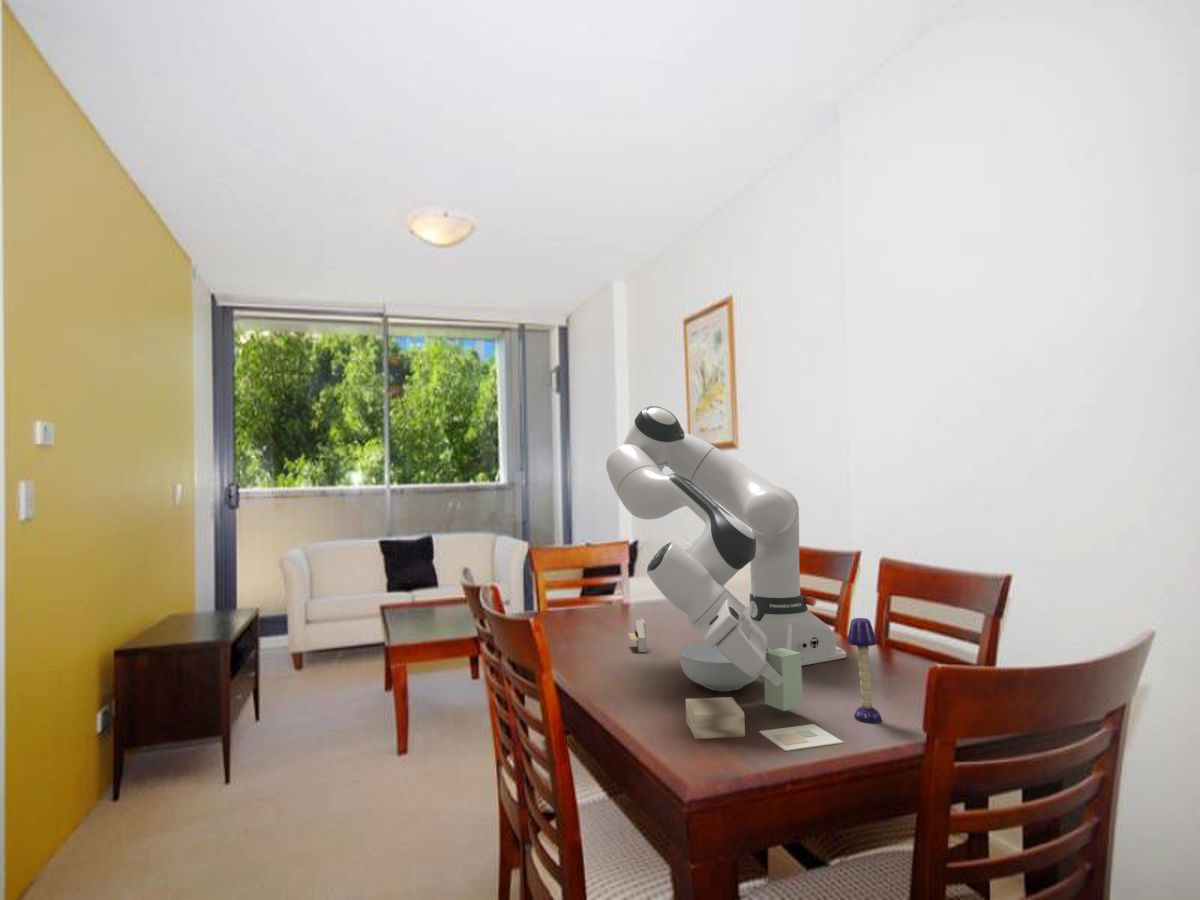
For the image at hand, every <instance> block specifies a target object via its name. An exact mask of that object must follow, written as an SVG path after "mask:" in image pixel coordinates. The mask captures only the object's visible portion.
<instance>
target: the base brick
mask: <svg viewBox="0 0 1200 900" xmlns="http://www.w3.org/2000/svg"><path fill="white" fill-rule="evenodd" d="M745 719H746V718H745V712H744V710H743V709H742V708H741V706H740V705H739V704H738V703H737V702H736V700H735V699H734V698H733V697H732V696H730V697H729V696H727V697H726V696H725V697H724V696H722V697H720V696H719V697H700V698H696V697H695V698H685V722H686V724H687V725H688V727H689V729H690V731H691V734H692V735H693V737H694V739H696V740H697V739H698V740H699V739H716V738H718V739H720V738H721V739H722V738H740V737H743V738H744V737H746V728H745V726H746V725H745V722H746V721H745Z"/></svg>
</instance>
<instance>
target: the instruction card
mask: <svg viewBox="0 0 1200 900" xmlns="http://www.w3.org/2000/svg"><path fill="white" fill-rule="evenodd" d="M758 733H759V734H760V735H762V736H763V737H764V738H766V739H768V740H769V741H770V742H772V743H774V744H775V745H776V746H777V747H779V748H780V749H782V750H783V751H785V752H788V751H796V750H803V749H809V748H818V747H819V748H820V747H824V746H833V745H839V744H844V741H842V740H841V739H839V738H838V737H836V736H834V735H833V734H831V733H829V732H828V731H826V730H824V729H823V728H821V727H819V726H818V725H816V724H814V723H812V724H805V725H804V724H803V725H797V726H790V727H781V728H774V729H772V728H771V729H766V730H760V731H758Z"/></svg>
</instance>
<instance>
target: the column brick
mask: <svg viewBox="0 0 1200 900" xmlns="http://www.w3.org/2000/svg"><path fill="white" fill-rule="evenodd" d="M766 661H767V662H768V663H769V665H770V666H771V667H772V668H773V669H775V670H777V671H778V672H779V673H780V674H781V675H782V676H783V682H782V683H781V684H780V685H779V686H775V685H774V684H773V683H772V682H771V681H770V680H768V679H767V678H765V677H764V676H763V684H764V704H765V705H768V706H770V707H772V708H775V709H778V710H781V711H784V712H785V711H786V712H787V711H789V710H793V709H796V708H801V707H804V696H803V694H804V693H803V674H802V671H803V670H802V666H801V653H799V652H795V651H792V650H788V649H784V648H779V649H774V650H769V651H766Z"/></svg>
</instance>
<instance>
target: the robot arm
mask: <svg viewBox="0 0 1200 900" xmlns="http://www.w3.org/2000/svg"><path fill="white" fill-rule="evenodd" d="M605 466H606V472H607V474H608V477H609V480H610V484H611V485H612V487H613V489H614V491H615V493H616V495H617V496H618V498H619V500H620V501H621V504H622V505H623V506H624V507H625V509H626V510H627V511H628V512H629V513H630V514H631V515H632V516H633V517H636V518H638V519H642V520H648V521H649V520H656V519H661V518H663V517H666V516H667V515H670V514H671V513H673V512H674V511H676V510H678V509H681V508H683V507H687V508H688V509H689V510H691V512H693V513H694V514H695V515H696V516H697V517H698V518H699V519H700V520H701V521H703V522H704V523H705V528H704V529H703V531H702V532H703V533H701V535H700V536H699V537H698V538H696V540H695V541H693V543H692V544H691V545H690V546H689V548H688V549H686V550H684V549H683V548H682V547H681V546H679V545H677V544H676V543H674V542H671V541H670V542H668V543H666V544H665V545H664V546H663V547H662V546H661V548H660V549H659V550H658V551H657V552H656V553H655V555H654V556H653V557H652V559H651V560H650V562H649V563H648V564H647V567H646V574H647V576H648V577H649V579H650V580H651V581H652V583H653V584H654V586H655V587H656V588H657V589H658V590H659V591H660V593H661V594H662V595H663V596H664V597H665V598H666V599H667V600H668V602H670V604H671V605H673V606H674V608H676V609H678V610H680V611H681V612H683V613H684V614H685V615H686V617H687V618H688V620H689V622H690V623H691V625H693V627H695V628H696V630H697V631H699V633H700V634H701V635H702V639H703V641H705V642H706V643H707V644H708V645H709V646H710V647H711V648H714V647H715V646H716V647H717V649H718V650H719V651H720V652H721V653H722V654H723V655H724V656H725V657H726V658H727V659H728V660H730V661H731V662H732V663H733V664H734V665H735V666H736V667H738V668H739V669H740V670H741V671H742V672H744V673H745V674H747V675H748V676H750V677H753V676H754V675H755V674H757V673H758V672H759V673H760V676H762V677H763V678H764V677H765V678H767V679H768V680H770V681H771V682H772V683H773V684H774V685H775V686H779V685H780V684H781V683H782V682H783V676H782V675H781V674H780V673H779V672H778V671H777V670H775V669H773V668H772V667H771V666H770V665H769V663H768V662H767V661H766V651H769V650H774V649H779V648H784V649H788V650H792V651H795V652H799V653H801V667H802V666H807V665H812V664H818V663H824V662H830V661H836V660H840V659H845V658H847V652H846V651H845V650H844V649H843V648H841V647H839V646H836V640H835V636H834V632H833V630H832V628H831V627H830V626H829V625H828V624H826V623H825V622H824V621H822V620H821V619H820V618H819V617H817V615H815V614H813V613H812V612H810V611H809V608H808V606H810V607H815V606H816V605H817V599H816V597H814V596H813V597H812V596H805V595H804V594H801V579H800V578H801V577H800V576H801V575H800V509H799V508H800V507H799V502H798V501H797V498H796V497H795V496H794V494H793V493H792V492H790V491H789V490H787V489H785V488H783V487H778V486H776V485H774V484H773V483H771V482H769V481H768V480H766V478H763V477H762V476H761V475H759V474H758V473H756V472H754V471H753V470H751V469H750V468H749V467H747V466H746V465H745V464H743V463H742V462H740V461H738V460H737V459H735V458H734V457H732V456H730V455H729V454H727V453H726V452H724V451H723V450H721V449H720V448H718V447H716V446H715V445H713V444H711V443H709V442H707V441H705V440H704V439H701V438H700V437H697V436H695V435H693V434H690V433H688V432H685V431H684V429H683V428H682V427H681V423H680V422H679V420H678V418H677V417H676V416H675V415H674V414H673V413H672V412H671V411H670V410H667V409H665V408H663V407H660V406H653V405H652V406H646V407H644V408H642V409H641V411H639V413H638V414H637V416H636V417H635V419H634V423H633V424H632V426H631V428H630V429H629V431H628V433H627V435H626V437H625V440H624V443H623V444H621V445H619V446H618V447H616V448H614V449H613V450H612V451H611V452H610V453H609V454H608V456H607V459H606V465H605ZM665 467H667V468H669V469H670V471H671V472H673V473H670V474H665V473H664V472H663V469H664V468H665ZM727 511H728V512H727ZM736 518H737V519H736ZM750 529H751V530H750ZM748 564H750V587H751V588H750V590H751V591H750V594H749V615H750V616H749V617H750V619H749V618H748V617H747V616H746V615H745V614H743V613H744V611H745V610H746V606H745V605H744V604H743V603H742V602H741V601H740V600H739V599H737V598H736V596H735V595H734V594H732V592H730V590H728V589H727V588H726V587H725V585H726V584H727V583H728V582H729V581H730V580H731V579H732V578H733V577H734V576H735V575H736V574H737V573H738V572H739V571H740V570H742V569H743V568H744V567H746V566H747V565H748ZM807 605H808V606H807Z"/></svg>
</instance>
